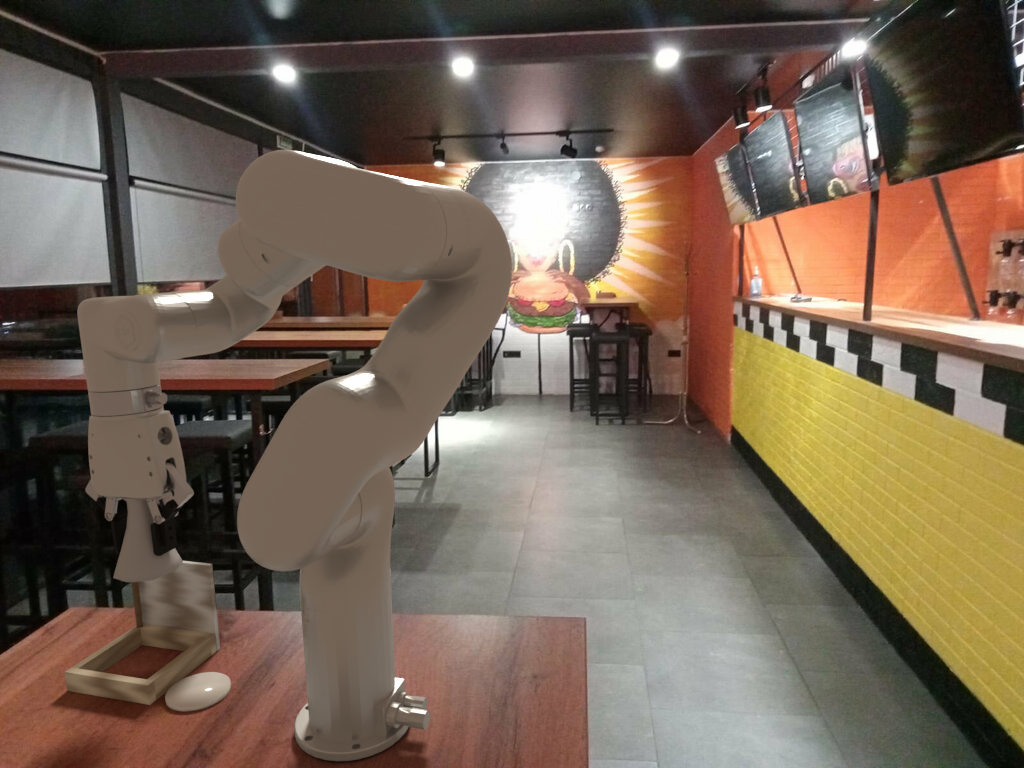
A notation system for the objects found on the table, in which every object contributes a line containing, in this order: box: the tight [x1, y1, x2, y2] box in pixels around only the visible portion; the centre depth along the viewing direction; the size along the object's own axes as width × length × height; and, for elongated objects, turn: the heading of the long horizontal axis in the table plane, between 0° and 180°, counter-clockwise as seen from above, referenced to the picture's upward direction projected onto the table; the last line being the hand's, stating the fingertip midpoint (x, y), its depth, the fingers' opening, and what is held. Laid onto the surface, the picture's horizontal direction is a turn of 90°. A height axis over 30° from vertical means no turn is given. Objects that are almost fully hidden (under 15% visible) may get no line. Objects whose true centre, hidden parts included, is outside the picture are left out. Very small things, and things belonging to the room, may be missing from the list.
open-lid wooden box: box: [64, 560, 221, 706], centre depth 90 cm, size 12×13×12 cm
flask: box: [112, 498, 184, 583], centre depth 86 cm, size 7×7×10 cm
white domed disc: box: [164, 671, 232, 713], centre depth 86 cm, size 7×7×1 cm
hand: (146, 548), depth 87 cm, fingers closed on flask, 5 cm apart
